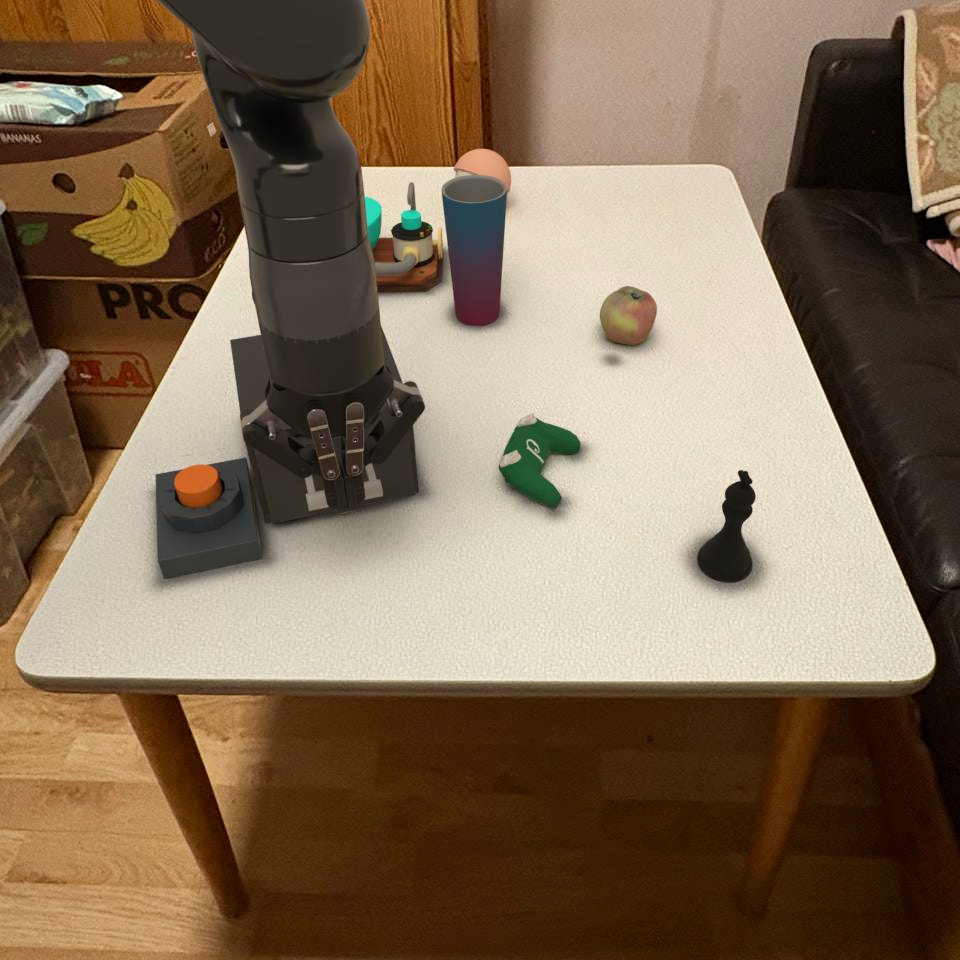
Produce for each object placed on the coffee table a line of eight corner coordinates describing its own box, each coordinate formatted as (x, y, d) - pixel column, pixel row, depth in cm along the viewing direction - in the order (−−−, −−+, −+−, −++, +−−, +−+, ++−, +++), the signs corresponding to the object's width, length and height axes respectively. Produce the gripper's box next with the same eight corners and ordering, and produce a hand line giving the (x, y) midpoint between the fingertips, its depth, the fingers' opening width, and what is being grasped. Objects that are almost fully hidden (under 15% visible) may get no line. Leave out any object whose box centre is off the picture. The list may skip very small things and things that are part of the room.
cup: (440, 304, 106) (433, 179, 96) (496, 294, 107) (495, 170, 97) (457, 334, 101) (451, 207, 91) (515, 324, 102) (516, 196, 92)
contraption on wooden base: (441, 302, 106) (434, 177, 96) (287, 304, 106) (264, 179, 96) (445, 244, 116) (439, 126, 106) (305, 246, 117) (286, 128, 107)
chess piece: (731, 537, 77) (753, 446, 70) (762, 573, 74) (788, 481, 67) (686, 552, 76) (704, 461, 69) (716, 589, 73) (737, 497, 66)
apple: (597, 359, 97) (601, 311, 93) (597, 319, 103) (601, 272, 99) (654, 362, 96) (661, 313, 92) (651, 321, 102) (657, 274, 98)
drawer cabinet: (419, 492, 82) (411, 406, 75) (265, 523, 79) (243, 437, 73) (386, 398, 92) (377, 315, 86) (249, 423, 90) (229, 339, 83)
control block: (262, 558, 76) (253, 524, 73) (164, 579, 75) (151, 545, 72) (250, 475, 84) (242, 441, 81) (161, 492, 82) (150, 458, 80)
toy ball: (441, 209, 124) (438, 152, 119) (478, 190, 128) (477, 134, 123) (486, 226, 120) (486, 168, 115) (523, 205, 124) (523, 148, 119)
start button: (223, 503, 76) (219, 487, 75) (179, 512, 75) (174, 496, 74) (221, 475, 78) (216, 460, 77) (178, 484, 78) (173, 468, 77)
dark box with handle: (426, 528, 77) (420, 457, 72) (277, 559, 75) (260, 488, 69) (384, 405, 90) (377, 338, 85) (256, 428, 88) (240, 361, 82)
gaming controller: (557, 457, 88) (515, 415, 86) (586, 440, 85) (543, 397, 83) (532, 522, 81) (485, 478, 79) (562, 505, 79) (515, 460, 77)
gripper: (212, 352, 52) (262, 559, 64) (436, 316, 55) (445, 521, 66) (204, 288, 58) (251, 490, 69) (408, 258, 60) (421, 457, 72)
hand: (346, 505), depth 68 cm, fingers closed
